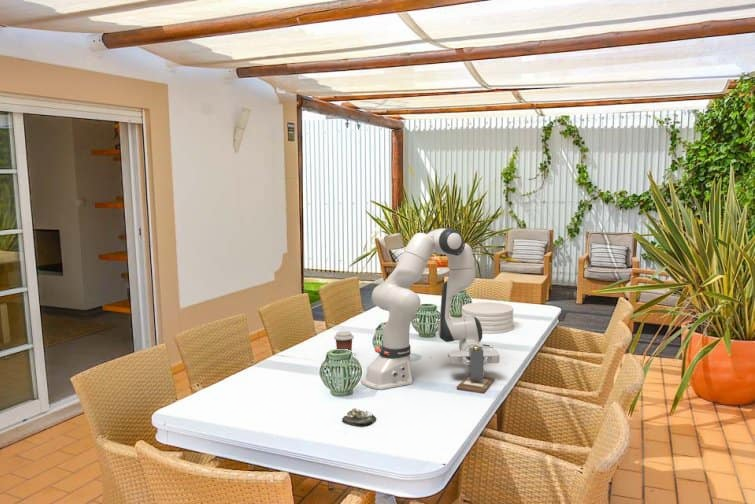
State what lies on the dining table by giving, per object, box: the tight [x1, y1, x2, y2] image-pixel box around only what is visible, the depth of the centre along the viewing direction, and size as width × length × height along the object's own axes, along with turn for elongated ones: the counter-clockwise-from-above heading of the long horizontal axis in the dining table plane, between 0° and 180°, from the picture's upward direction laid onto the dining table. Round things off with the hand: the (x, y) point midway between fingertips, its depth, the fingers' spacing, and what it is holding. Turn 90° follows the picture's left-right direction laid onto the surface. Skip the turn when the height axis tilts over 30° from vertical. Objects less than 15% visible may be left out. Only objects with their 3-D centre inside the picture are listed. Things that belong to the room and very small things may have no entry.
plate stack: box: [461, 301, 514, 335], centre depth 329 cm, size 28×28×12 cm
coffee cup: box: [333, 330, 355, 351], centre depth 277 cm, size 9×9×12 cm
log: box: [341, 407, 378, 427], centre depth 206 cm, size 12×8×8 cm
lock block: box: [468, 346, 484, 380], centre depth 238 cm, size 5×5×13 cm
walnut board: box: [456, 373, 495, 394], centre depth 239 cm, size 16×11×1 cm
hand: (476, 363), depth 237 cm, fingers closed on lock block, 5 cm apart
